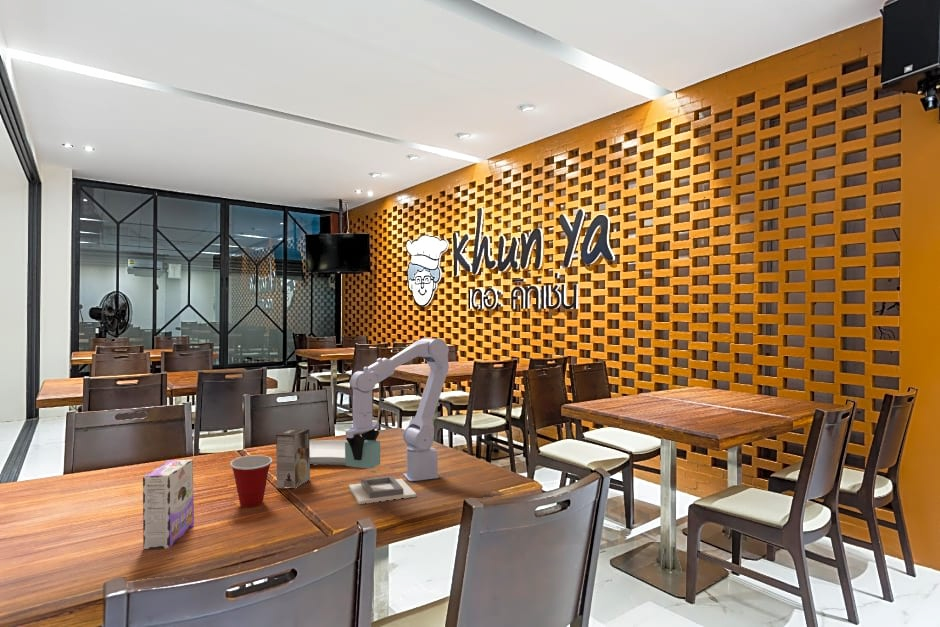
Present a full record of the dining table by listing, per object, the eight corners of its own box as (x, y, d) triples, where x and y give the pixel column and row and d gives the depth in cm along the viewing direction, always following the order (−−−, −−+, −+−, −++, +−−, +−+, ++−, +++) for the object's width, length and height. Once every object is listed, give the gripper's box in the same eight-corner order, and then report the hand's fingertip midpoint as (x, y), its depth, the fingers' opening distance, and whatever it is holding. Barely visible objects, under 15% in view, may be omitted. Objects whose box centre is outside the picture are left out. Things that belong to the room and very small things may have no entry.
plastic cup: (232, 513, 147) (231, 467, 147) (228, 501, 156) (228, 457, 156) (275, 506, 152) (275, 461, 152) (269, 495, 161) (269, 453, 161)
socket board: (401, 481, 174) (401, 473, 174) (416, 496, 159) (416, 488, 159) (349, 487, 168) (349, 479, 168) (359, 504, 153) (359, 495, 153)
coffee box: (291, 479, 177) (291, 428, 177) (310, 480, 175) (310, 428, 175) (275, 488, 168) (275, 434, 168) (295, 489, 166) (295, 435, 166)
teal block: (380, 464, 168) (380, 440, 168) (371, 468, 164) (370, 444, 164) (355, 461, 172) (354, 438, 172) (345, 465, 167) (344, 442, 167)
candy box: (169, 526, 138) (169, 459, 138) (194, 525, 139) (194, 458, 139) (142, 550, 124) (141, 475, 124) (169, 548, 125) (169, 474, 125)
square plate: (364, 468, 190) (364, 457, 190) (283, 468, 190) (283, 457, 190) (378, 449, 217) (378, 438, 217) (307, 449, 217) (307, 439, 217)
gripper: (365, 407, 176) (365, 450, 176) (336, 415, 163) (337, 462, 163) (384, 408, 173) (385, 452, 173) (357, 416, 160) (357, 464, 160)
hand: (363, 457), depth 168 cm, fingers closed on teal block, 5 cm apart
